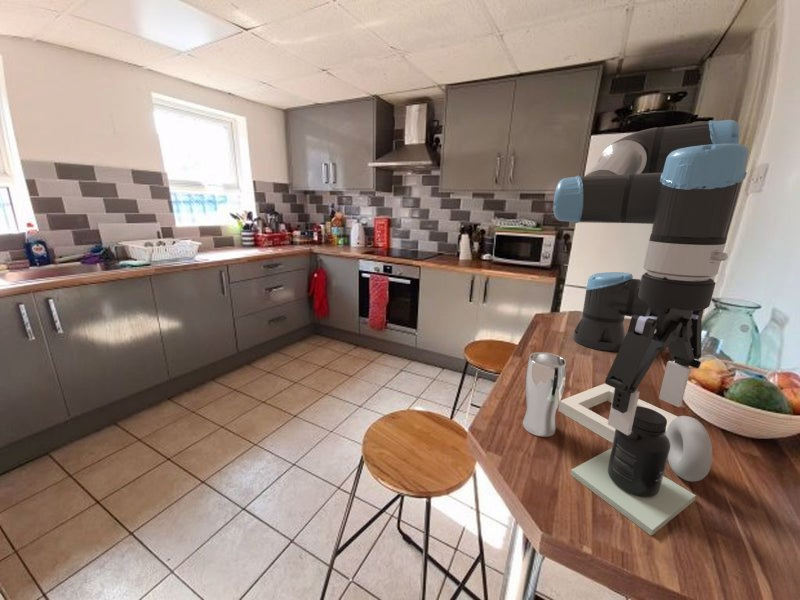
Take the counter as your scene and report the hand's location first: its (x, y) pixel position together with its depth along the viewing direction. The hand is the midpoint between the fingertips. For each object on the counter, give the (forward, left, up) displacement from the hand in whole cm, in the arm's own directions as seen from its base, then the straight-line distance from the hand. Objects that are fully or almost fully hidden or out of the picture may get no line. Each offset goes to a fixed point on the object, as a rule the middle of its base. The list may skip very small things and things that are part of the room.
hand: (645, 414), depth 49 cm
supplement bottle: (0, 0, -12) cm, 12 cm away
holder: (-16, -11, -13) cm, 23 cm away
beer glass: (+1, -17, -13) cm, 21 cm away
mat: (0, 0, -13) cm, 13 cm away
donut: (-10, +2, -13) cm, 17 cm away
